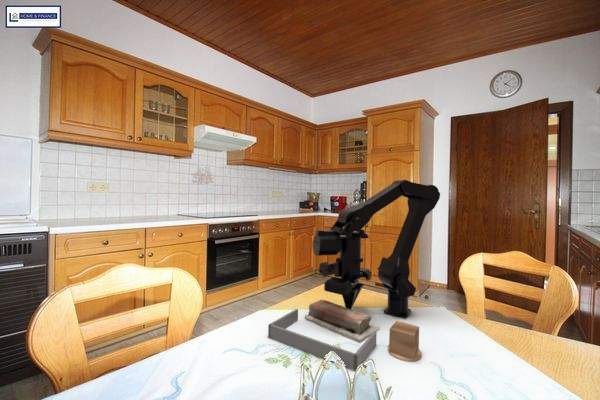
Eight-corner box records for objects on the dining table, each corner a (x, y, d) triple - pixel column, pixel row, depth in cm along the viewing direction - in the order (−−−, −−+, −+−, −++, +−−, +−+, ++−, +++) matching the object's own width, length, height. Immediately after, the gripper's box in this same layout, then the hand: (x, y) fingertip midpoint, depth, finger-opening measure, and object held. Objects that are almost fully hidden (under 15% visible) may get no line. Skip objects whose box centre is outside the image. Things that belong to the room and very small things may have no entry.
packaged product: (303, 304, 77) (325, 295, 84) (302, 321, 77) (325, 311, 84) (360, 326, 65) (381, 313, 72) (359, 347, 65) (380, 332, 72)
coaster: (392, 340, 66) (392, 338, 66) (424, 350, 62) (424, 348, 62) (383, 354, 61) (383, 352, 61) (417, 365, 57) (417, 363, 57)
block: (395, 342, 65) (396, 320, 65) (418, 349, 62) (419, 326, 62) (389, 351, 61) (389, 328, 61) (413, 359, 58) (414, 335, 58)
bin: (296, 319, 76) (296, 308, 76) (376, 345, 64) (376, 332, 64) (268, 337, 67) (268, 324, 67) (356, 371, 54) (356, 355, 54)
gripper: (339, 246, 90) (337, 294, 91) (307, 255, 75) (306, 313, 75) (372, 250, 84) (371, 302, 84) (345, 262, 69) (344, 325, 69)
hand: (348, 310), depth 78 cm, fingers closed
